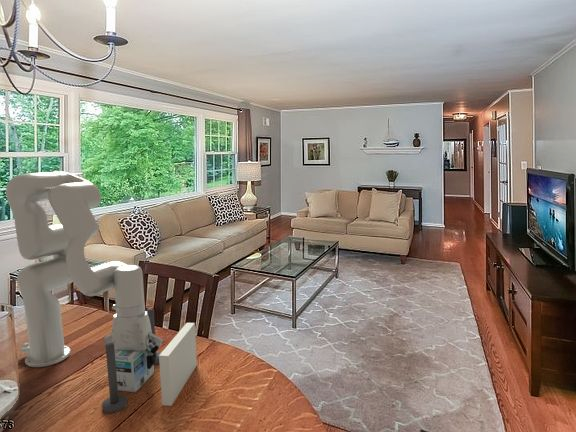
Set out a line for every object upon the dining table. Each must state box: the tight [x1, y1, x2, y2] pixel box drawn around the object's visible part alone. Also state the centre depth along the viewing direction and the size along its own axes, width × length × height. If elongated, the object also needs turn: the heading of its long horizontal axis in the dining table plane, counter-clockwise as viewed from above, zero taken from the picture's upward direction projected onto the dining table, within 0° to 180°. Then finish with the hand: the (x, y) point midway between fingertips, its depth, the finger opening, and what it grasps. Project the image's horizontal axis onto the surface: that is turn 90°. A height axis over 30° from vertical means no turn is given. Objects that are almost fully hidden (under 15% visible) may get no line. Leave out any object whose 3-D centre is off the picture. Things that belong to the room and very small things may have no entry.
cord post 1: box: [101, 343, 128, 414], centre depth 103 cm, size 6×6×17 cm
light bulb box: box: [115, 347, 155, 393], centre depth 114 cm, size 11×7×11 cm, turn 170°
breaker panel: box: [159, 322, 198, 407], centre depth 113 cm, size 4×20×14 cm, turn 174°
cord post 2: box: [146, 307, 162, 366], centre depth 125 cm, size 6×6×17 cm
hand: (134, 365), depth 114 cm, fingers open, 9 cm apart
